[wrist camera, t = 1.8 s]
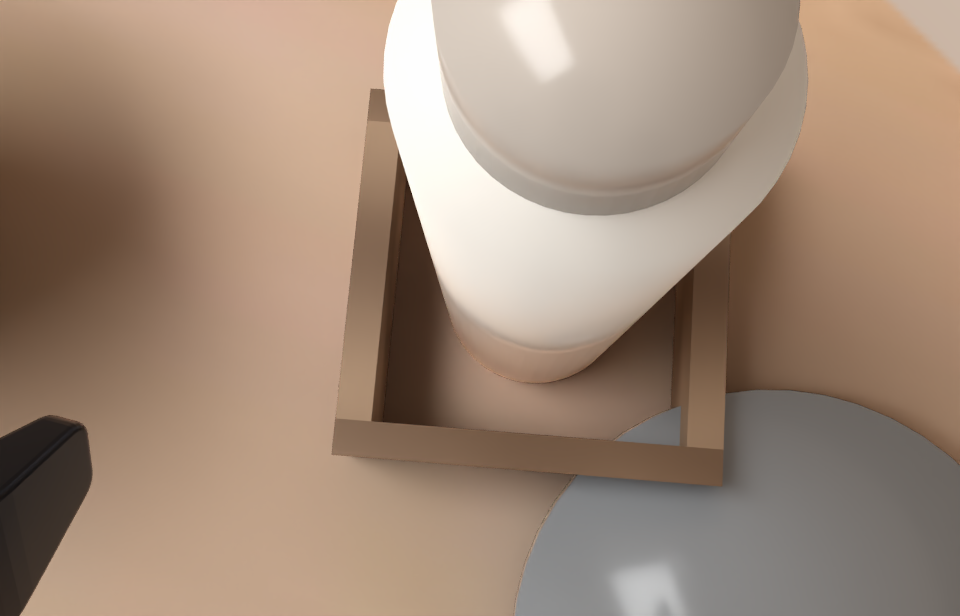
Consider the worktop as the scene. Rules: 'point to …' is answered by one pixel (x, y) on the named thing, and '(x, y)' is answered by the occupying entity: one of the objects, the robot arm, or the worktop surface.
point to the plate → (761, 523)
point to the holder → (370, 437)
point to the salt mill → (584, 156)
